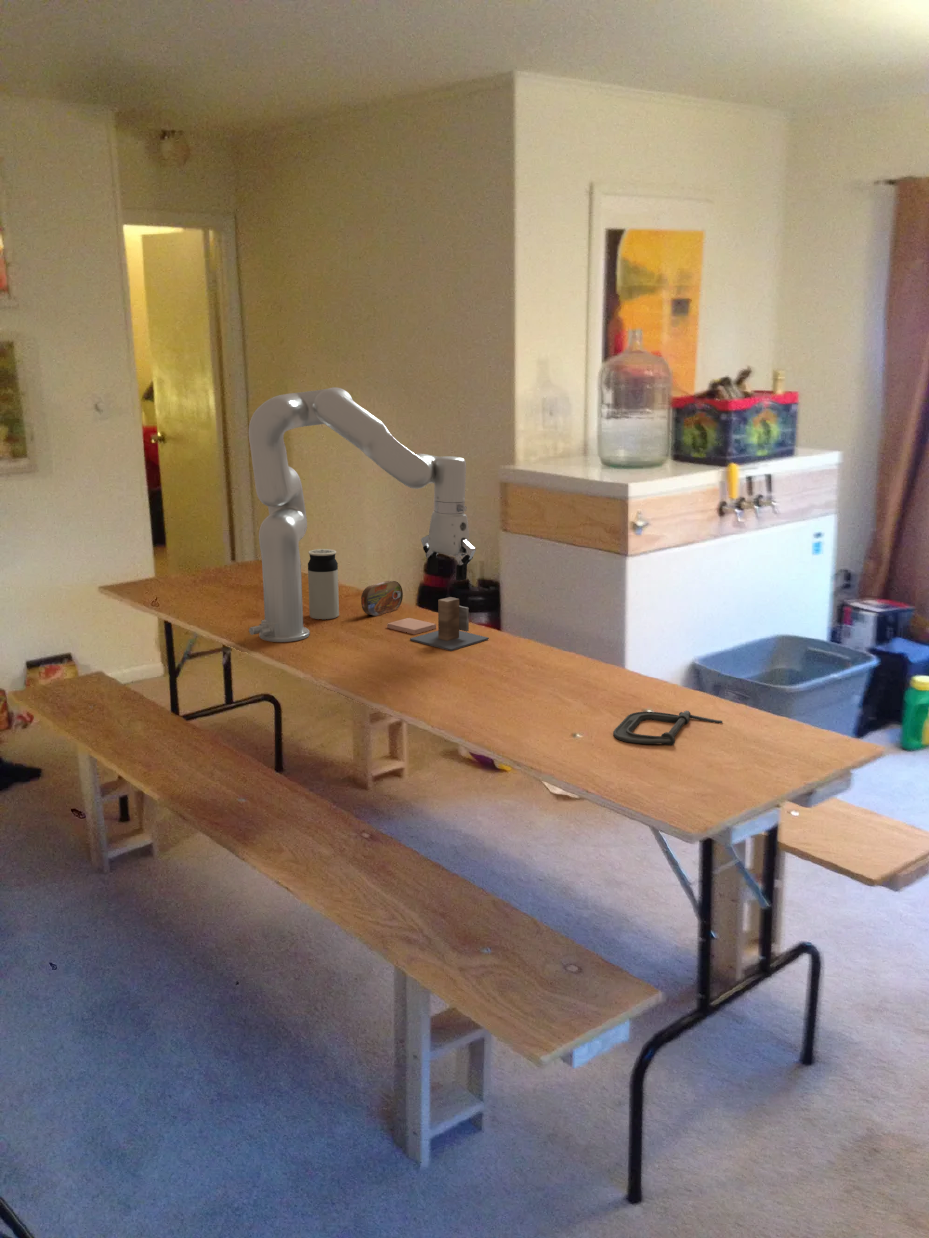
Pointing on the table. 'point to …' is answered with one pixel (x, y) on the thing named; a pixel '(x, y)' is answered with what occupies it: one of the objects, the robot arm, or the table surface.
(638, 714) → the c clamp
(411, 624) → the tile
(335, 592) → the travel mug
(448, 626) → the brown grey block
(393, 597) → the tin
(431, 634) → the mat
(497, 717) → the table surface
